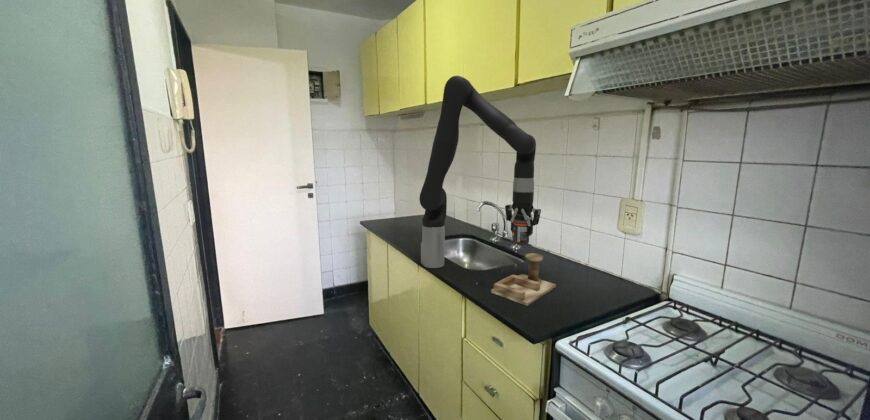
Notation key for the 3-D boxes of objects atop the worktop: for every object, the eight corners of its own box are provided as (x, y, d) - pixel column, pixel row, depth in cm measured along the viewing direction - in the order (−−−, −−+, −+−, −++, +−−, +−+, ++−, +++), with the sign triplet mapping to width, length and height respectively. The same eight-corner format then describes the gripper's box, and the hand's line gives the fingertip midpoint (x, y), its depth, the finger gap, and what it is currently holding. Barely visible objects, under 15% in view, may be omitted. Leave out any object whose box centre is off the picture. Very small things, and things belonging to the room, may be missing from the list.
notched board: (490, 292, 122) (491, 283, 122) (521, 276, 136) (521, 267, 136) (526, 306, 113) (527, 295, 112) (555, 286, 127) (556, 277, 126)
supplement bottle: (511, 240, 137) (512, 212, 134) (527, 240, 136) (528, 212, 134) (514, 245, 131) (515, 215, 129) (530, 245, 131) (531, 215, 128)
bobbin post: (521, 282, 128) (522, 256, 126) (529, 277, 133) (531, 252, 131) (536, 287, 124) (537, 260, 122) (544, 282, 129) (546, 255, 126)
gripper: (500, 189, 132) (499, 232, 135) (535, 193, 122) (533, 239, 125) (512, 186, 137) (510, 228, 140) (546, 190, 127) (543, 235, 131)
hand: (521, 233), depth 133 cm, fingers closed on supplement bottle, 6 cm apart
